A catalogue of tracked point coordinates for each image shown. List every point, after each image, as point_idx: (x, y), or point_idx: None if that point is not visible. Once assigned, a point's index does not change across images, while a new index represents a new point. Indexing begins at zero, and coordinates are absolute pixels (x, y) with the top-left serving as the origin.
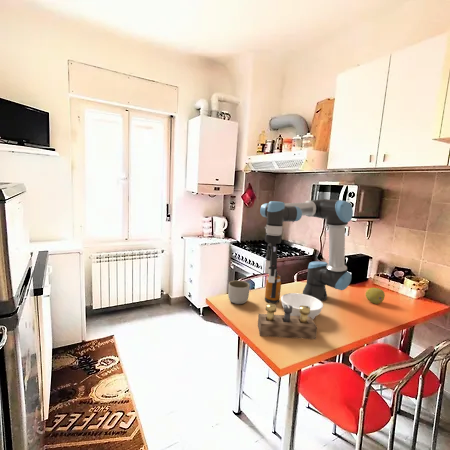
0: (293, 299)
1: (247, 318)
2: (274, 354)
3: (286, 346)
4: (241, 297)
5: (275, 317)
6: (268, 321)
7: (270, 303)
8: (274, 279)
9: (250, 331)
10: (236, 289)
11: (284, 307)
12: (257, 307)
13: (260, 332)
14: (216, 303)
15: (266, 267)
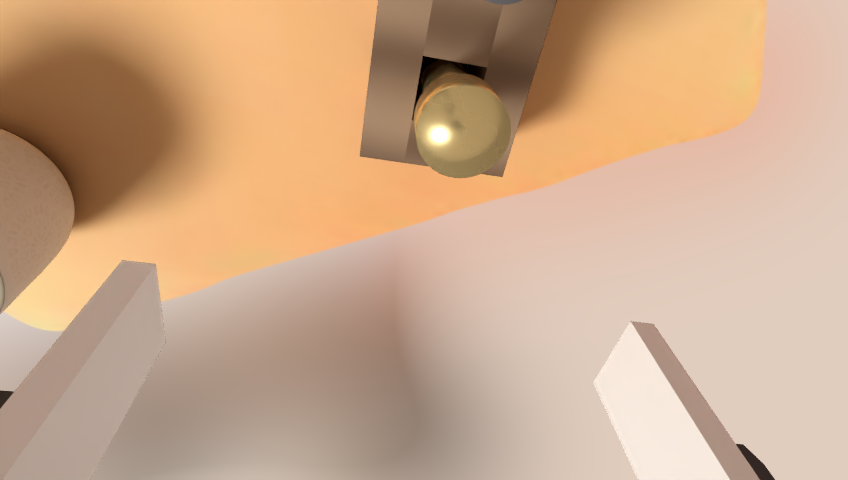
0: None
1: (280, 168)
2: (663, 117)
3: (624, 17)
4: (47, 205)
5: (425, 39)
6: None
7: (419, 129)
8: (678, 369)
9: (436, 183)
10: (17, 282)
11: (509, 2)
12: (68, 49)
13: None
14: None
15: (107, 433)
